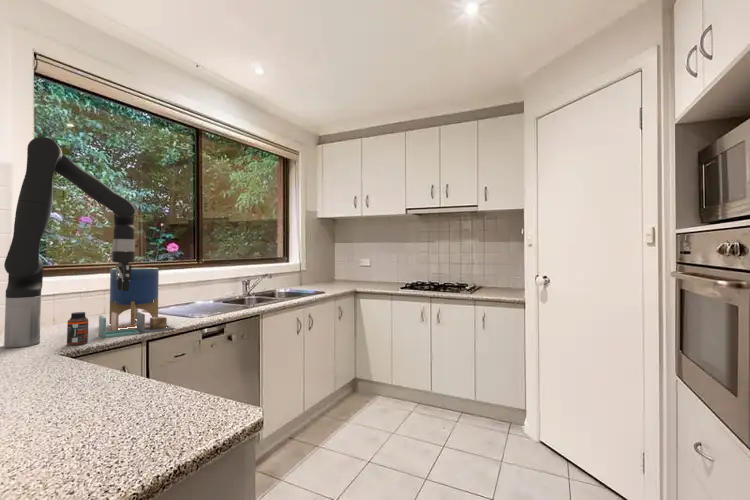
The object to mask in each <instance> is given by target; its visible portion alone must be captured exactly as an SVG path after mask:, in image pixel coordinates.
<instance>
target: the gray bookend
mask: <svg viewBox="0 0 750 500" xmlns="http://www.w3.org/2000/svg"><path fill="white" fill-rule="evenodd" d="M145 323H146V315H145V314H144V313H142V312H139V311H138V312H137V321H136V325H137V331H139V332H140V333H141V334H147V333H157V332H164V331H165V332H166V331H172V330H173V331H174V330H175V326H171V325H169V324H166V327H167V328H163V329H155V330H150V326H149V327H145V325H146V324H145ZM140 333H139V334H140Z"/></svg>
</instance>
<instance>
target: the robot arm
mask: <svg viewBox="0 0 750 500" xmlns="http://www.w3.org/2000/svg"><path fill="white" fill-rule="evenodd" d="M26 150H27V152H26V153H27V156H26V158H27V159H26V169H25V175H24V177H23V181H22V184H21V187H20V191H19V195H18V199H17V204H16V210H15V214H14V215H15V217H14V223H13V235H12V240H11V242H10V243H11V244H10V245H9V249H8V252H7V255H6V258H5V260H4V265H3V266H4V270H5V272H6V273H7V274H8V281H7V286H6V289H5V304H4V306H5V309H4V333H3V334H4V336H3V337H4V341H3V349H9V348H21V347H22V348H23V347H28V346H34V345H38V344H40V342H41V317H42V316H41V311H42V309H41V308H42V305H41V304H42V290H43V281H44V280H43V279H44V278H43V277H44V263H43V260H42V258H41V257H40V247H41V241H42V237H43V235H44V234H45V230H46V229H47V228H48V227H47V226H48V224H49V221H50V218H51V213H52V209H53V202H54V185H53V183H54V182H53V181H54V173H57V174H58V175H60V176H61V177H63V178H64V179H66V180H67V181H69V182H70V183H72V184H73V185H75V187H77V188H78V189H79V190H81V191H82V192H83V193H84V194H85V195H87V196H88V197H90V198H91V199H92V200H94V201H96V202H97V203H99V204H100V205H103V206H104V207H105V208H107V209H109V211H111V212H112V213H113V220H114V221H113V222H114V227H113V239H112V248H111V249H112V254H111V255H112V256H111V257H112V258H111V261H112V263H117V264H115V268H116V277H115V278H116V280H117V290H122V291H129V281H130V280H131V268H132V265H131V264H129V263H134V262H135V258H136V257H135V256H136V255H135V250H136V245H135V227H134V221H135V213H136V208H135V206H134V204H133V203H131V202H130V201H129V200H127V199H126V198H124V197H123V196H121V195H119V194H118V193H117V192H115V191H114V190H113V189H111V188H110V187H109V186H107V184H105V183H103V181H101V180H100V179H98V178H96V177H94V176H93V174H92V175H91V174H90V173H88V172H87V171H84V170H83V169H82V168H80V167H79V166H78V165H76V164H75V163H74V162H73V161H72V160H71V159H69V157H67V156H66V154H65V153H64V152H63V151H62V148H61V146H60V145H59V144H58V143H57V141H55V140H53V139H52V138H50V137H47V136H37V137H35V138H33V139H31V140H30V141H29V143H28V144H27V149H26Z"/></svg>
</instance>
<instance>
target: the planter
mask: <svg viewBox="0 0 750 500" xmlns="http://www.w3.org/2000/svg"><path fill="white" fill-rule="evenodd" d="M159 269H160V268H158V267H131V280H130V281H129V291H122V290H117V280H116V278H115V277H116V267H115V268H110V270H109V271H110V273H109V274H110V276H109V279H110V280H109V281H110V282H109V324H111V318H112V312H113V311H114V312H116V313H118V314H119V316H120V315H121V314H122V313H123V312H124V313H125V311H128V310H130V325H136V324H135V322H136V321H135V319H137V312H139V309H140V310H144V311H146V312H147V313H149V314H150V316H151V318H153V317H159V283H160V282H159V279H160V278H159V276H160V275H159V274H160V273H159V271H160V270H159ZM109 324H108V325H109Z"/></svg>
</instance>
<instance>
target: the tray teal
mask: <svg viewBox="0 0 750 500" xmlns="http://www.w3.org/2000/svg"><path fill="white" fill-rule="evenodd" d="M139 334H140V332H139V331H137V330H135V329H127V330H119V331H113V330H111V331H107V317H105V316H103V315H99V316H98V337H99V338H101V339H102V340H104V339H109V338H117V337H125V336H132V335H133V336H134V335H139Z"/></svg>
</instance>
